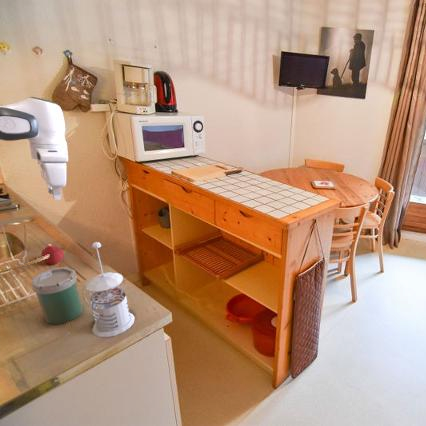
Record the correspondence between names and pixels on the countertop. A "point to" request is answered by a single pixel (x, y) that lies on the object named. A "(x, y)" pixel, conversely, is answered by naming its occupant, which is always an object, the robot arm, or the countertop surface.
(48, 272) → the jar
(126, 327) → the french press
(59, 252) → the onion
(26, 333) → the countertop surface
